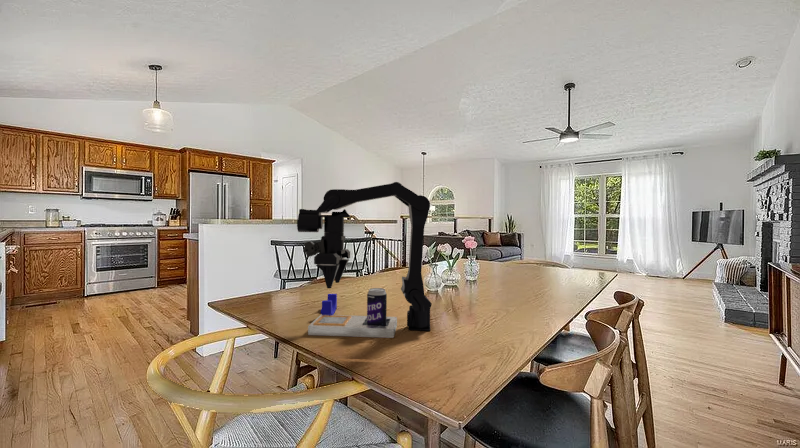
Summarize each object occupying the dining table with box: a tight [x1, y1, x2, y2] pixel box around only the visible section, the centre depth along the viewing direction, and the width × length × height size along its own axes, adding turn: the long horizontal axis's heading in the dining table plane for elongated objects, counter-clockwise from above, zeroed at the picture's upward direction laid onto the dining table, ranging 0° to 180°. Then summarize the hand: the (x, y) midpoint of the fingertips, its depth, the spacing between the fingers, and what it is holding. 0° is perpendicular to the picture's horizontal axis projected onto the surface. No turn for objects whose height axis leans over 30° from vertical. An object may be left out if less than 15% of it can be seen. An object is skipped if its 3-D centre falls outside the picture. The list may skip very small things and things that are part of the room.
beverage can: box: [366, 287, 388, 326], centre depth 101 cm, size 6×6×12 cm
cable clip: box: [320, 293, 338, 315], centre depth 119 cm, size 12×4×6 cm, turn 2°
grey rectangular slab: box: [307, 314, 398, 339], centre depth 102 cm, size 24×12×3 cm, turn 86°
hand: (333, 285), depth 102 cm, fingers open, 9 cm apart
